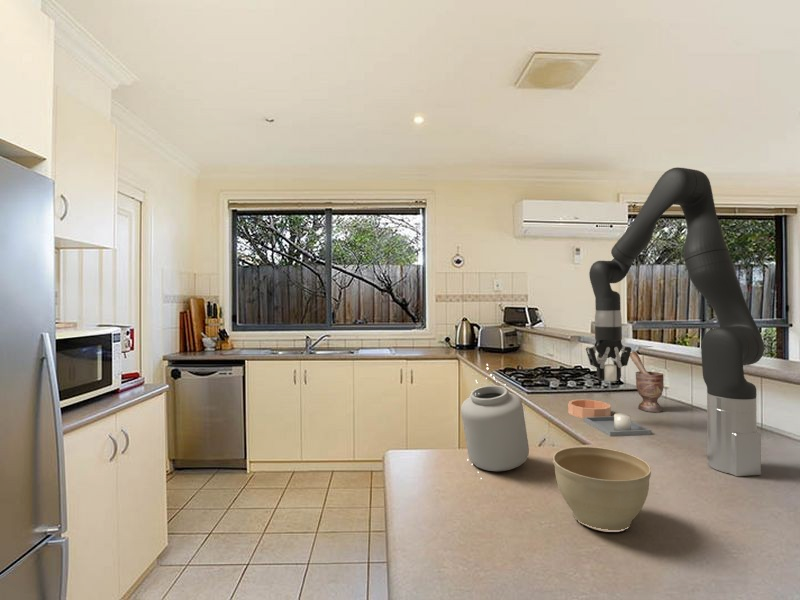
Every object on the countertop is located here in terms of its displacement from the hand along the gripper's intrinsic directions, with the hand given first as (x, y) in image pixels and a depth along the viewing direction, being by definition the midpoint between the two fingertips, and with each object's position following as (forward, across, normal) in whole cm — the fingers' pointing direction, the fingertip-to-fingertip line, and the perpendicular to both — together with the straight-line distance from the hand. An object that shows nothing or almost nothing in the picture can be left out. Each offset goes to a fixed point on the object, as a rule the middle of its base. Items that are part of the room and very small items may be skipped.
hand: (609, 379), depth 135 cm
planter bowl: (+15, -33, -53) cm, 64 cm away
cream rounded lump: (0, 0, 0) cm, 0 cm away
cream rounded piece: (+14, 0, -7) cm, 15 cm away
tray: (+15, 0, -3) cm, 15 cm away
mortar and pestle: (+15, +24, +18) cm, 34 cm away
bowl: (+14, 0, +12) cm, 19 cm away
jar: (+15, -45, -26) cm, 54 cm away
